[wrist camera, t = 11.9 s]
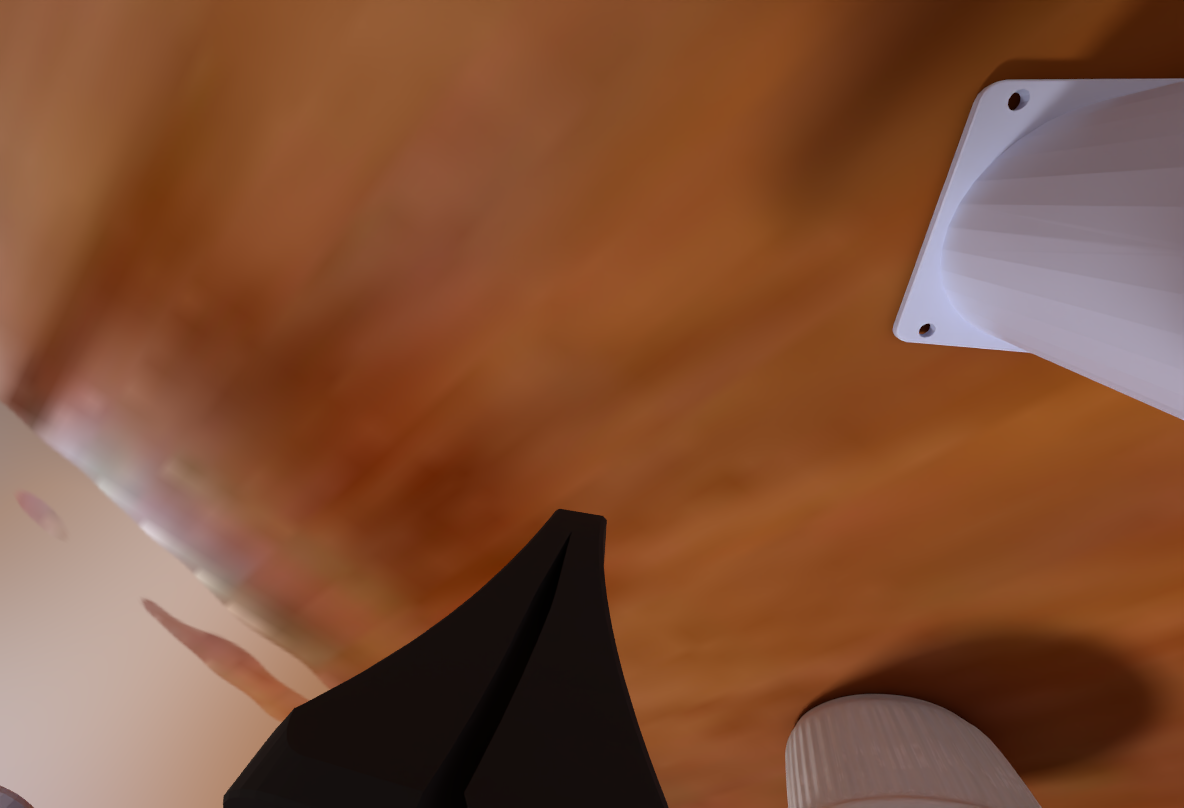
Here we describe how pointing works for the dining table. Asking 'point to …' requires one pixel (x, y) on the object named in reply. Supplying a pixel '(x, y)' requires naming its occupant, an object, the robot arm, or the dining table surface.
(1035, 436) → the dining table surface
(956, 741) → the ramekin
